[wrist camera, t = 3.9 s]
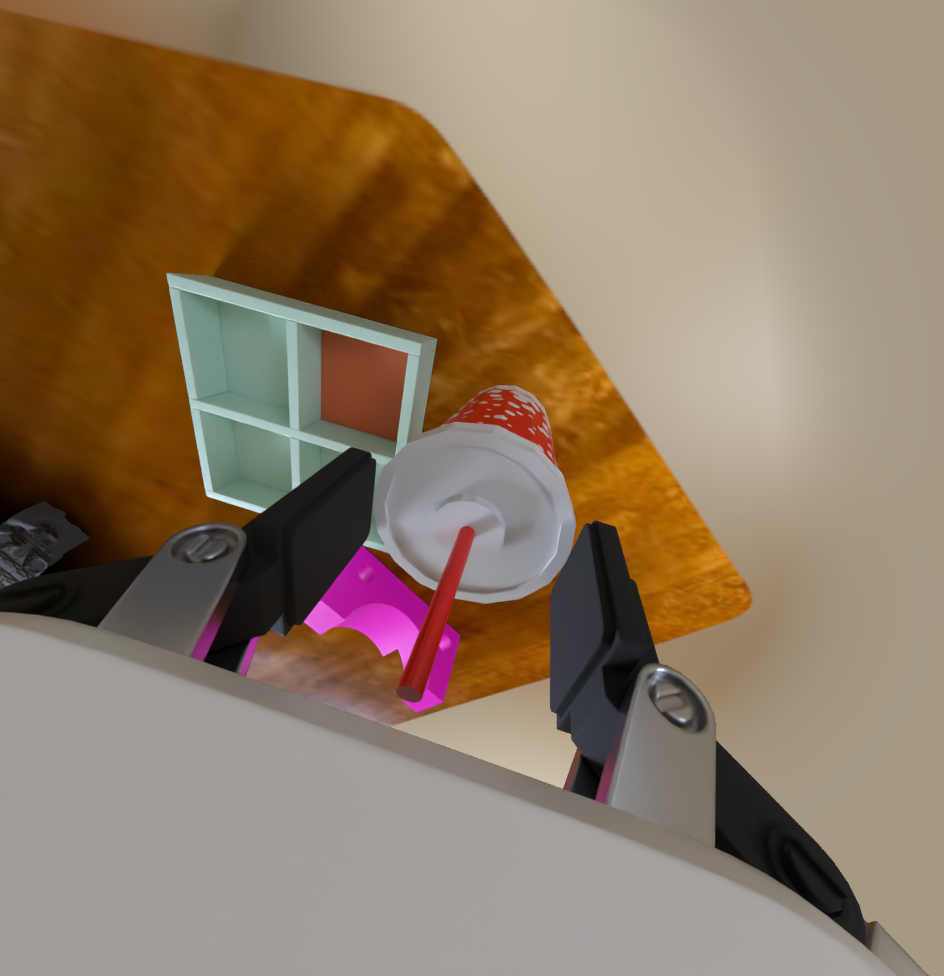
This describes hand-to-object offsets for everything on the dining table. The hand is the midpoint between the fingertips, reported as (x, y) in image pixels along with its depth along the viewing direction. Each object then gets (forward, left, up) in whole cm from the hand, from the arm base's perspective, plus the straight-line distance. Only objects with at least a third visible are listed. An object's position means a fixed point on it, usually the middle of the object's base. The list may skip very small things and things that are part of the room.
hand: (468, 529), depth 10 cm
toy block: (+25, -6, -18) cm, 32 cm away
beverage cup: (0, 0, -9) cm, 9 cm away
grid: (+6, -15, -18) cm, 24 cm away
